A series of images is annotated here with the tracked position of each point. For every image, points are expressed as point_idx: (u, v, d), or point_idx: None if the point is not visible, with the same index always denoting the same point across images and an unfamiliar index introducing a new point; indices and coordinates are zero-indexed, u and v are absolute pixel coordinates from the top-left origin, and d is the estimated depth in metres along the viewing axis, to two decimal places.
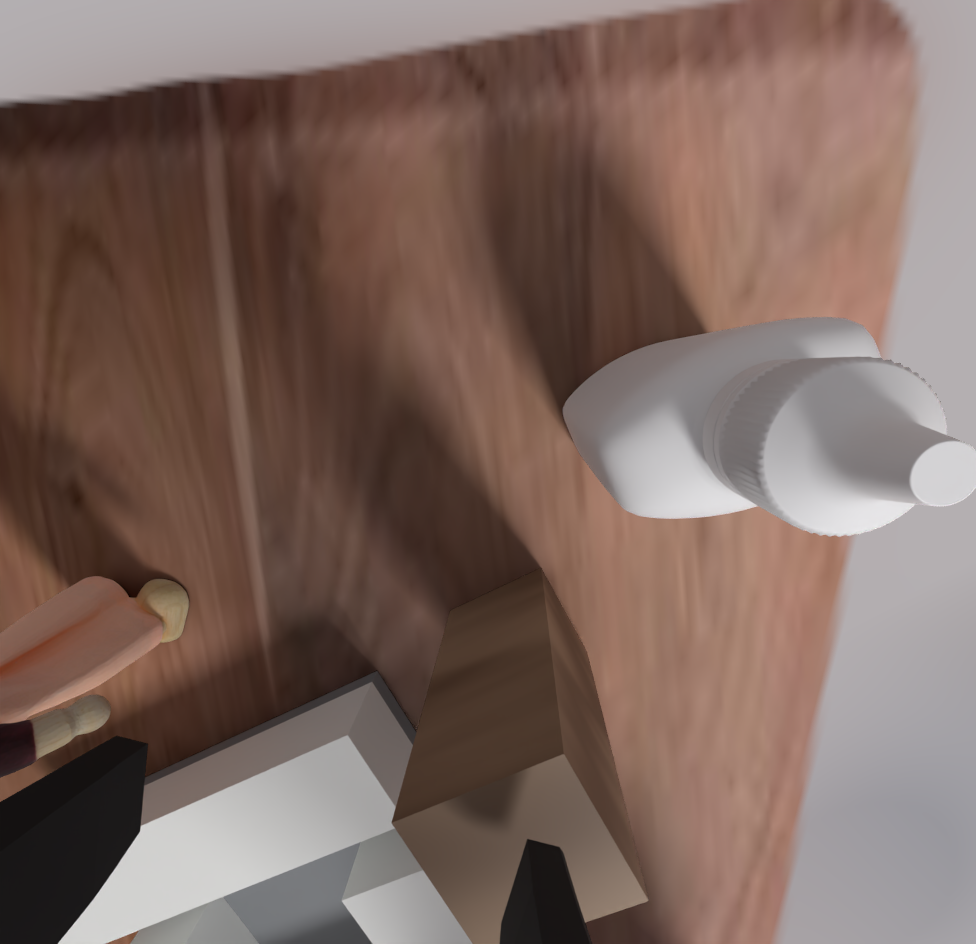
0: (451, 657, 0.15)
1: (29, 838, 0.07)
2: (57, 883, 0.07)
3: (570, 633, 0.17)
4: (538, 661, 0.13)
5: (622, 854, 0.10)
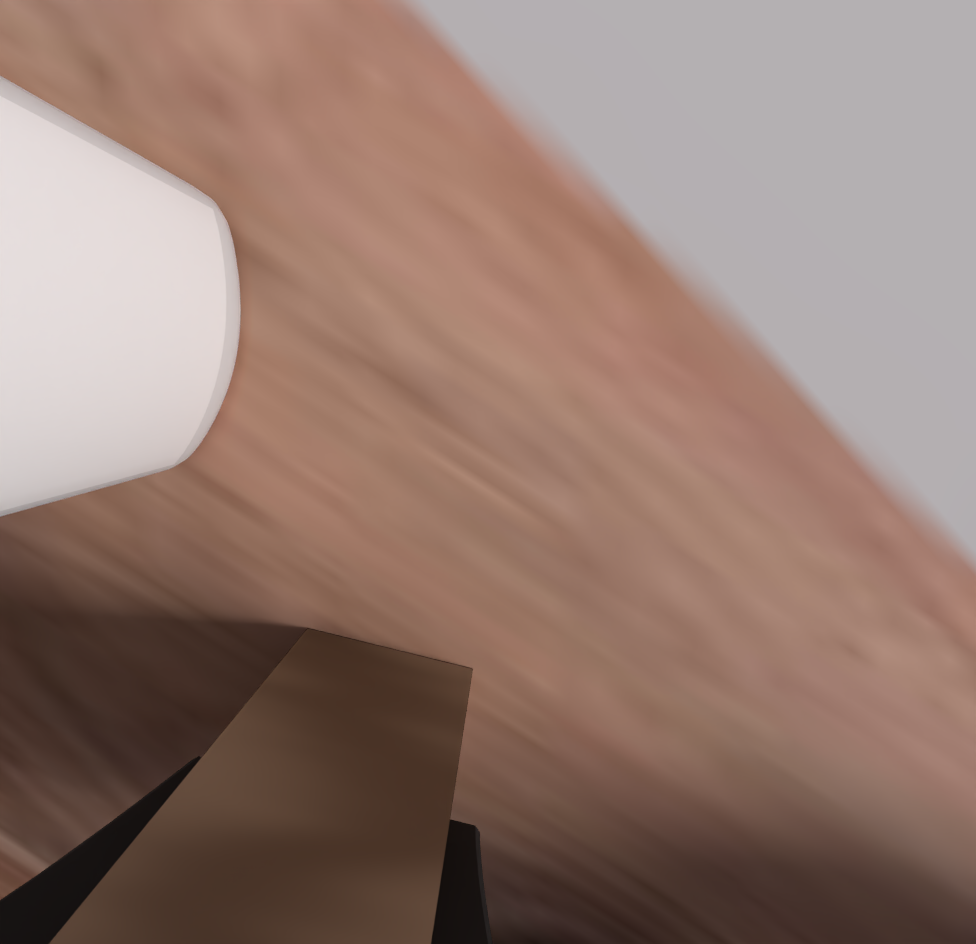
0: None
1: None
2: None
3: (382, 687, 0.10)
4: None
5: None
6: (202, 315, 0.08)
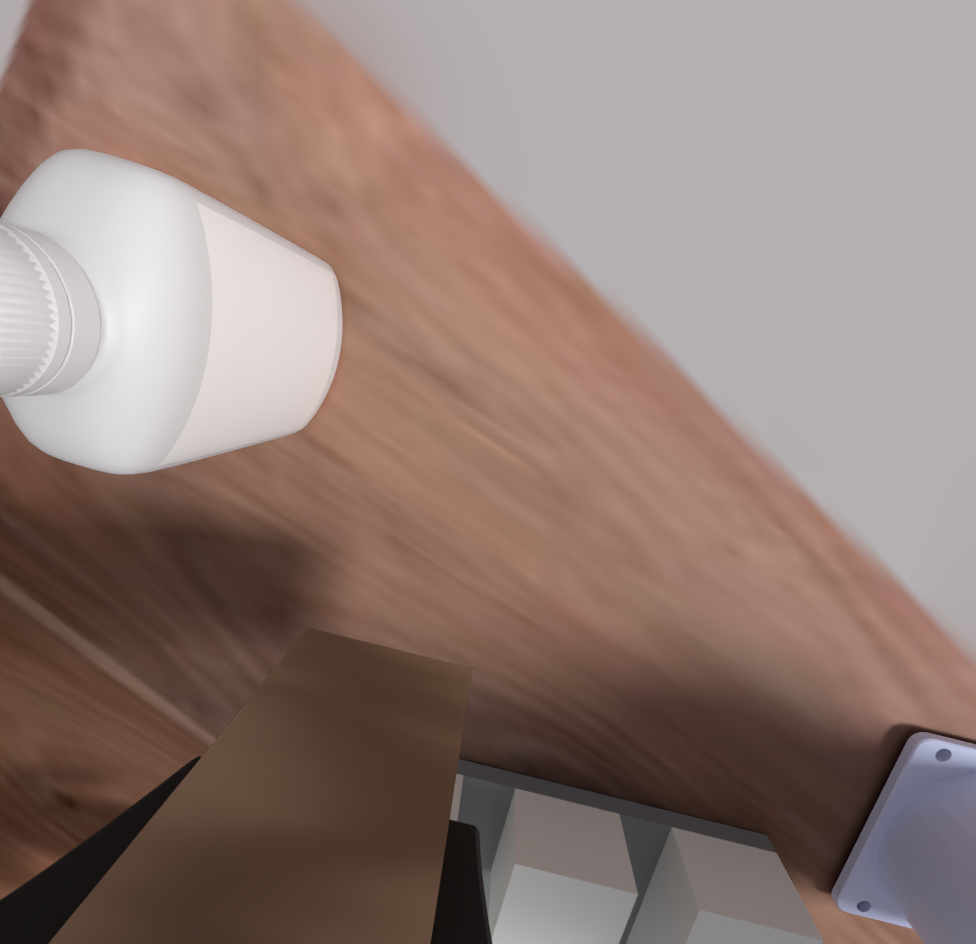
0: None
1: None
2: None
3: (382, 686, 0.10)
4: None
5: None
6: (328, 337, 0.14)
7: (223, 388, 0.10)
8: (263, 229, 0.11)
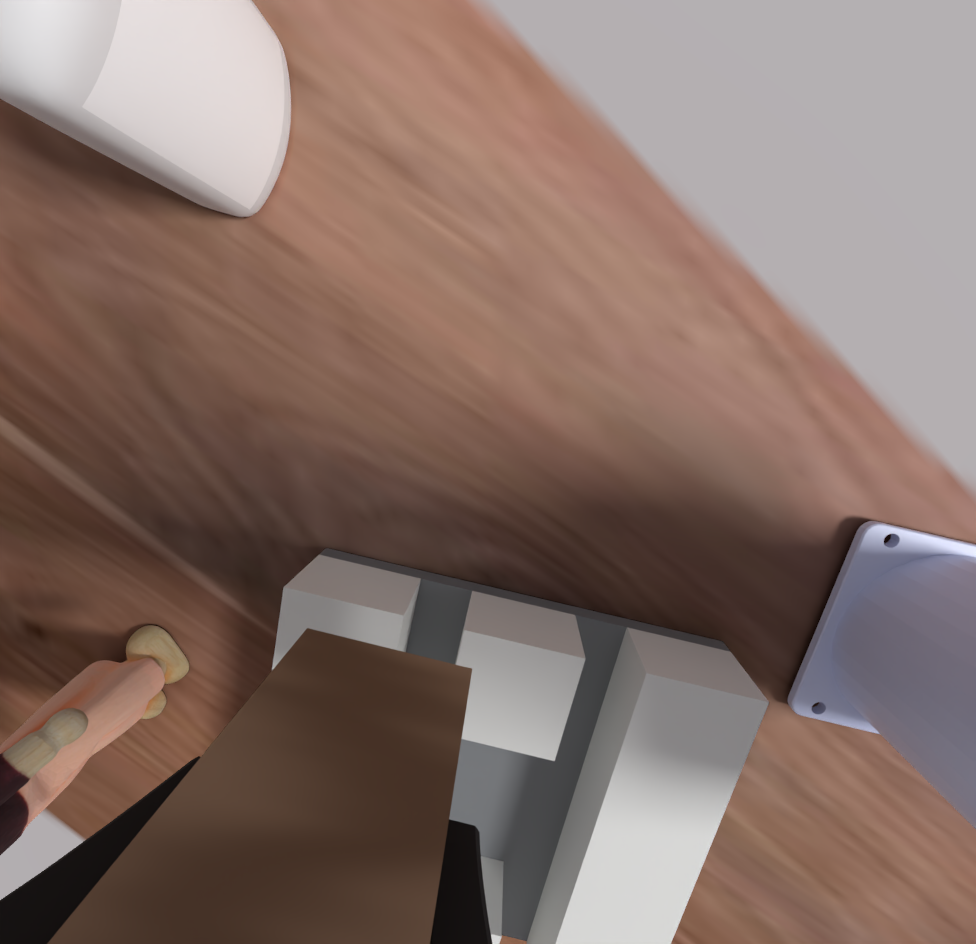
0: None
1: None
2: None
3: (381, 686, 0.10)
4: None
5: None
6: (273, 98, 0.14)
7: (147, 44, 0.10)
8: None
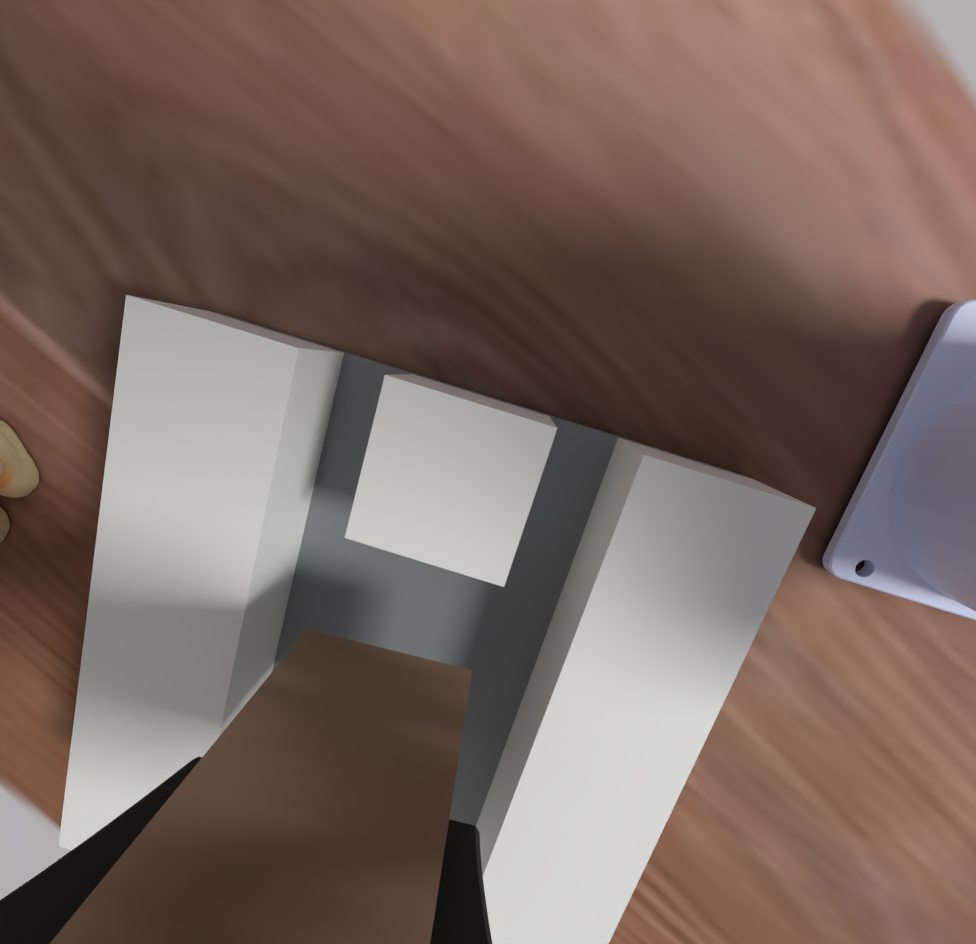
0: None
1: None
2: None
3: (381, 688, 0.10)
4: None
5: None
6: None
7: None
8: None
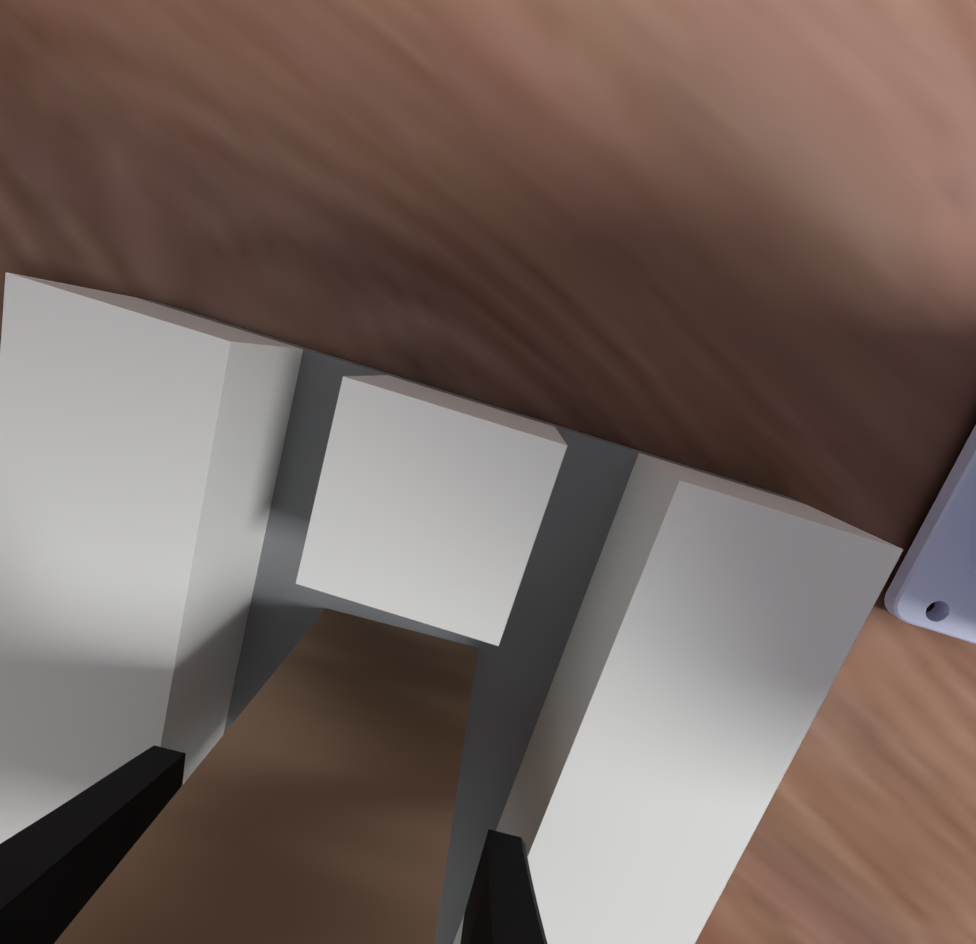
0: None
1: (79, 851, 0.07)
2: None
3: (396, 660, 0.11)
4: None
5: None
6: None
7: None
8: None
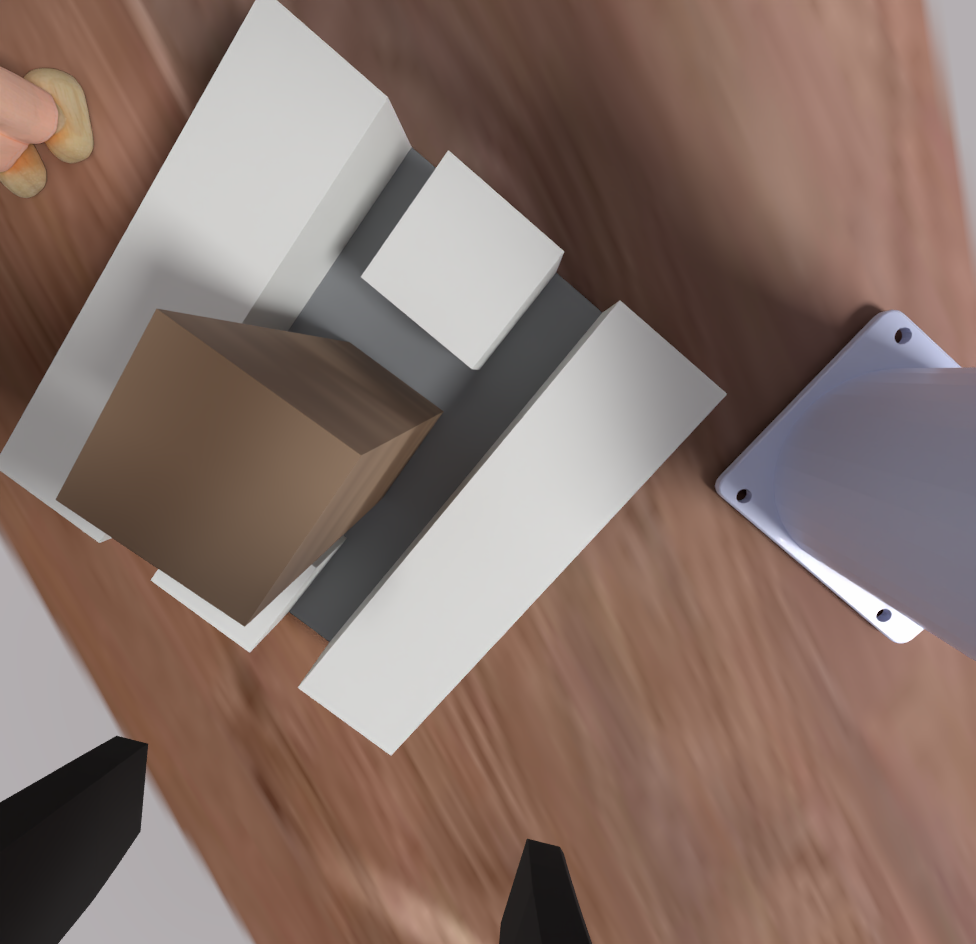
0: None
1: (30, 838, 0.07)
2: (58, 883, 0.07)
3: (391, 381, 0.15)
4: None
5: (299, 409, 0.08)
6: None
7: None
8: None
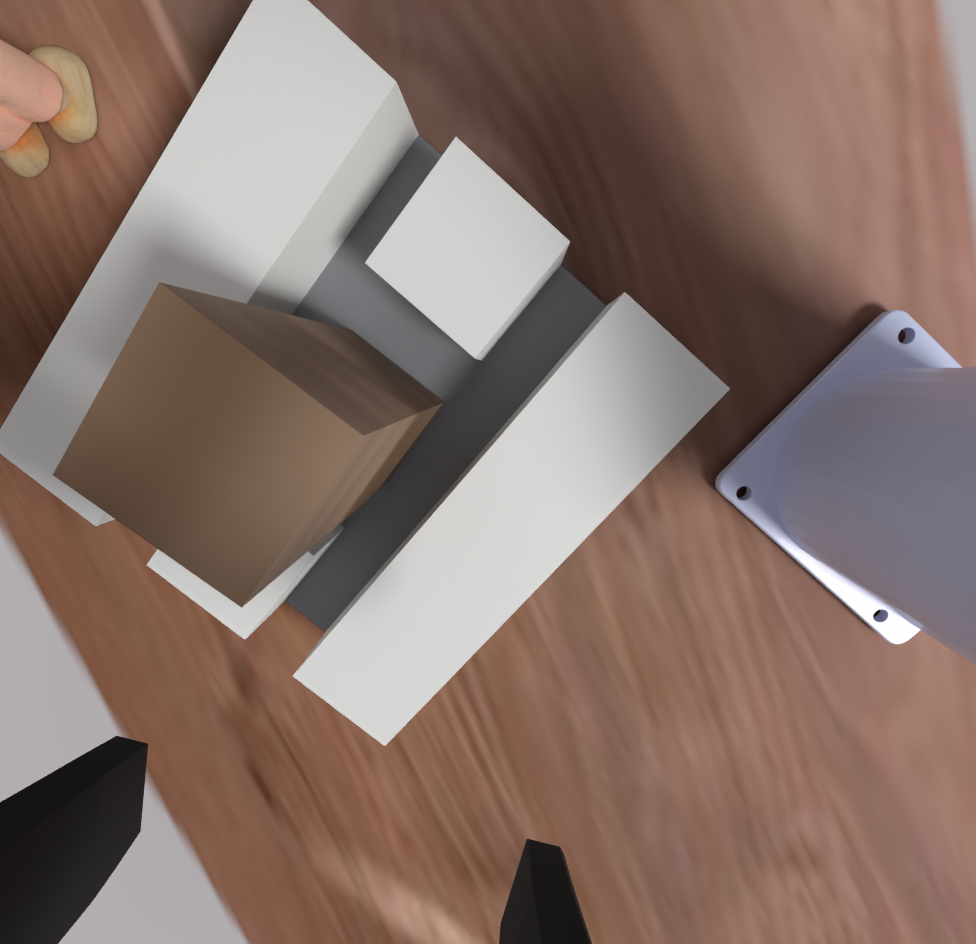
0: None
1: (29, 838, 0.07)
2: (57, 883, 0.07)
3: (393, 369, 0.15)
4: None
5: (301, 388, 0.08)
6: None
7: None
8: None
